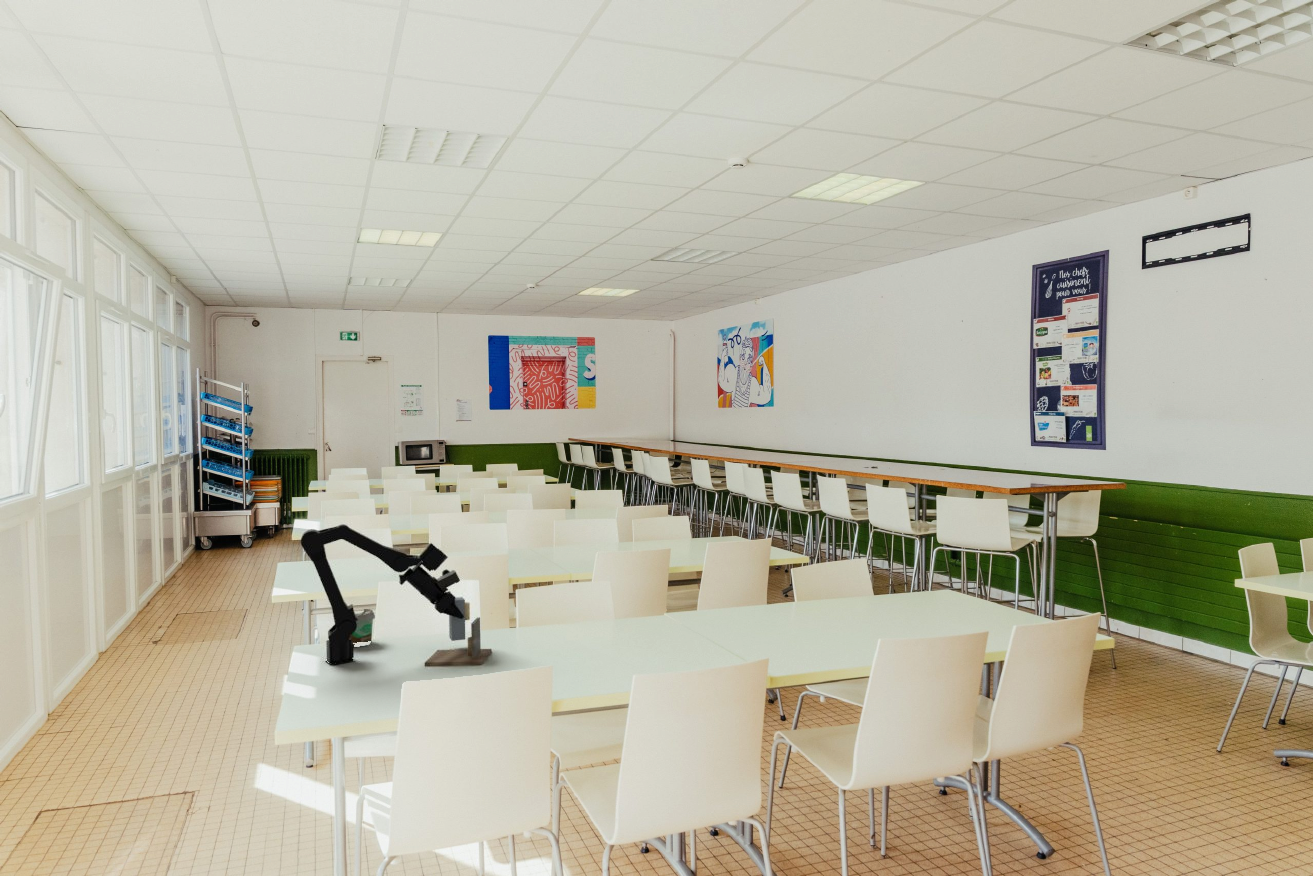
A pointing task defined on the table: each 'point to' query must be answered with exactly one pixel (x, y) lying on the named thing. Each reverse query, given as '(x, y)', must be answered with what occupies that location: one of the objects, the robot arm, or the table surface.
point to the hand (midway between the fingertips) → (461, 616)
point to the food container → (363, 627)
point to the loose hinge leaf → (459, 620)
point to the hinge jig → (462, 651)
